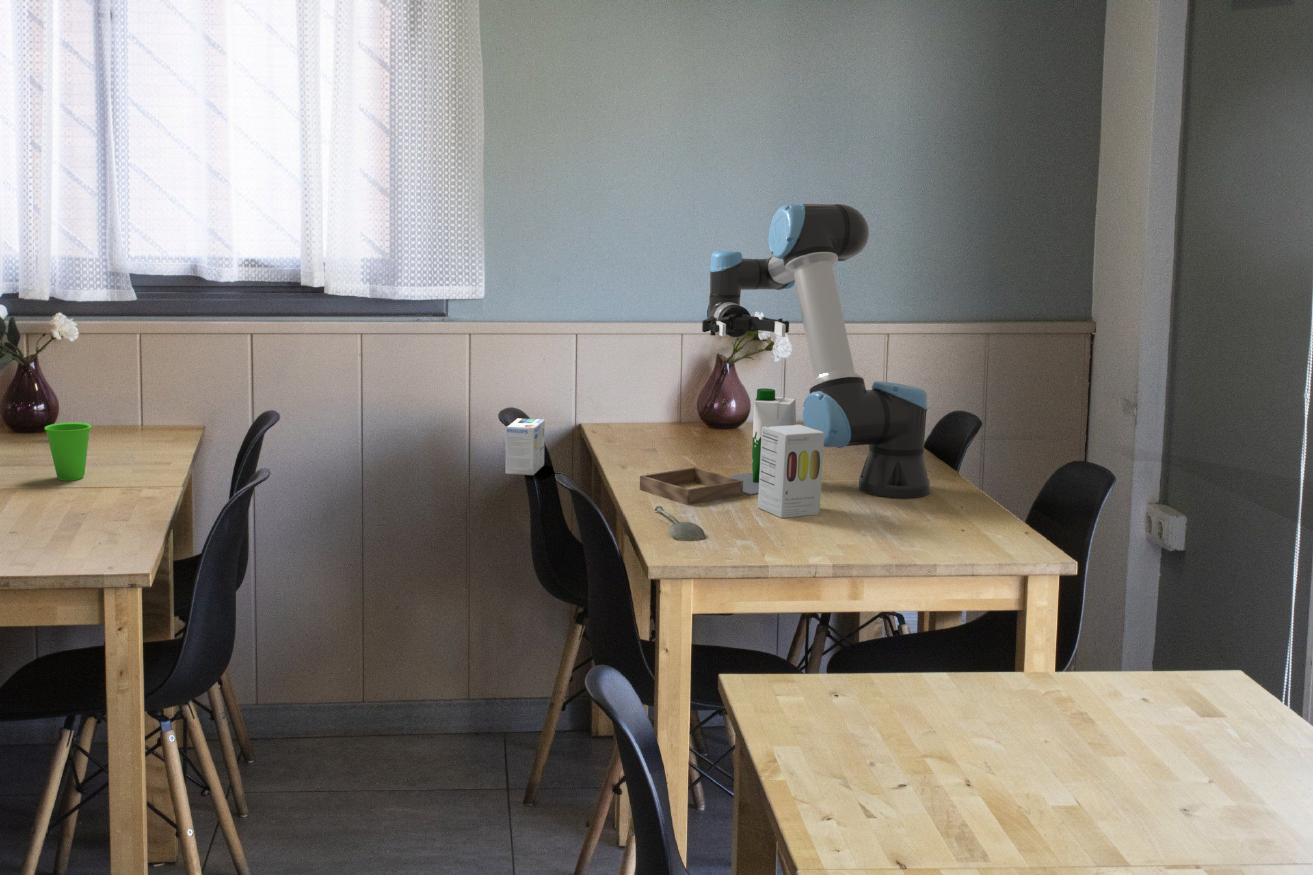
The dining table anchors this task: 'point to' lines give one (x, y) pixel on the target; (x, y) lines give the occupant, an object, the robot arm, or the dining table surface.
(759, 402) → the soya milk
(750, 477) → the rubber mat
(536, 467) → the light bulb box
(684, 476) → the walnut frame
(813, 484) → the supplement box
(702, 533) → the soupspoon
